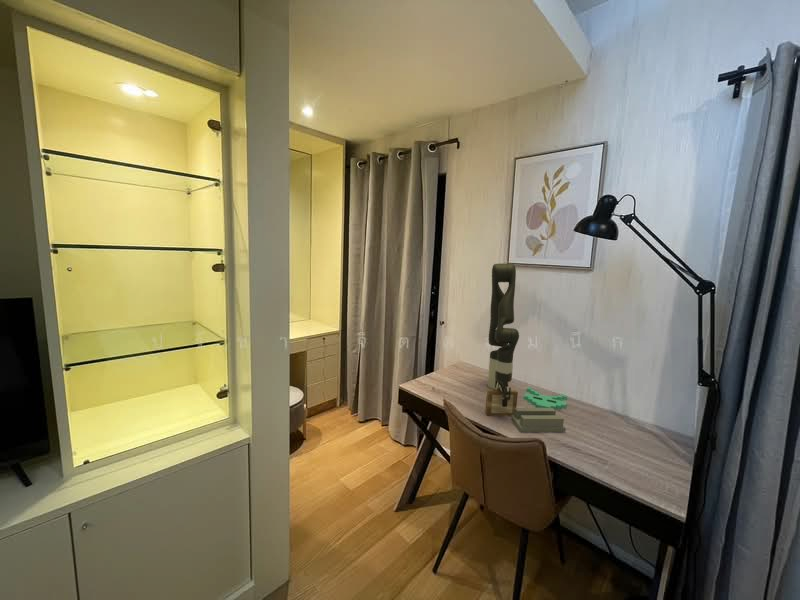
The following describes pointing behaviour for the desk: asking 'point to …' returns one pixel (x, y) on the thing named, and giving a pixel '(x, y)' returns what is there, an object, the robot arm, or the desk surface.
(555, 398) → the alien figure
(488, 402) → the walnut frame
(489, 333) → the robot arm
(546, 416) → the picture ledge
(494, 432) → the desk surface
